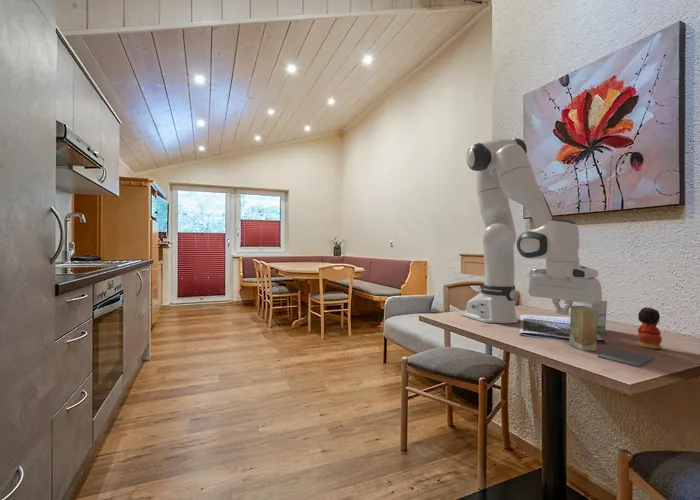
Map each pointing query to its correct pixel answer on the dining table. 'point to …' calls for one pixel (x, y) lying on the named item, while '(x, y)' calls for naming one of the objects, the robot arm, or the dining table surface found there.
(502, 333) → the dining table surface
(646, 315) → the figurine
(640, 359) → the felt mat
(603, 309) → the ink box
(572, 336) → the skincare box
